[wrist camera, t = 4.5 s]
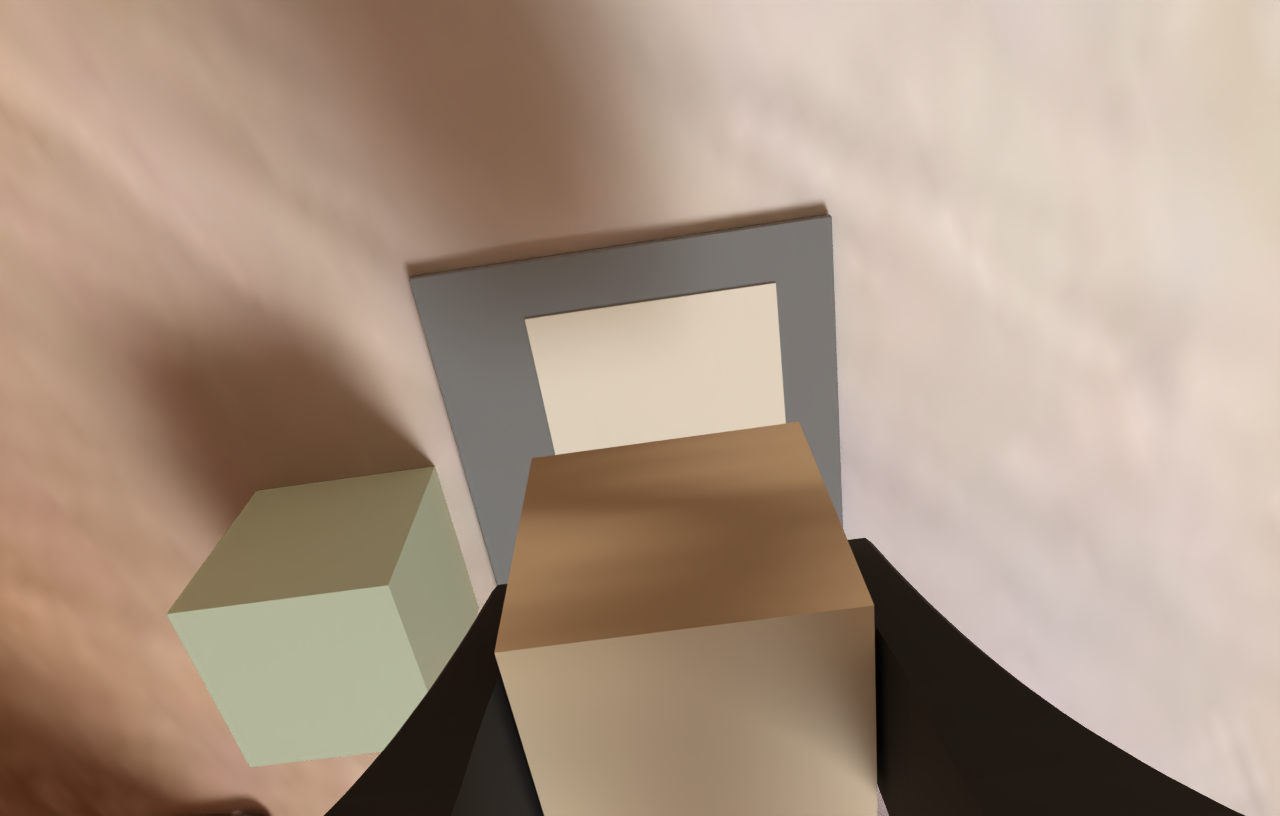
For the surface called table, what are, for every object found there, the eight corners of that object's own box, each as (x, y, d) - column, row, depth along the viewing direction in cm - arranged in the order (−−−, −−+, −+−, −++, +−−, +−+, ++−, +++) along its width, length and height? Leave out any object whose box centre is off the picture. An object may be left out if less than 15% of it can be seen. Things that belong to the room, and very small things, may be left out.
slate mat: (511, 626, 22) (510, 632, 22) (411, 276, 17) (408, 280, 17) (843, 584, 22) (845, 590, 21) (829, 214, 17) (832, 217, 17)
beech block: (579, 655, 16) (565, 883, 12) (531, 457, 14) (494, 652, 10) (811, 626, 15) (878, 848, 11) (798, 421, 13) (873, 605, 9)
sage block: (317, 626, 22) (250, 767, 18) (257, 488, 20) (166, 614, 16) (479, 605, 22) (447, 743, 18) (435, 464, 20) (388, 585, 16)
